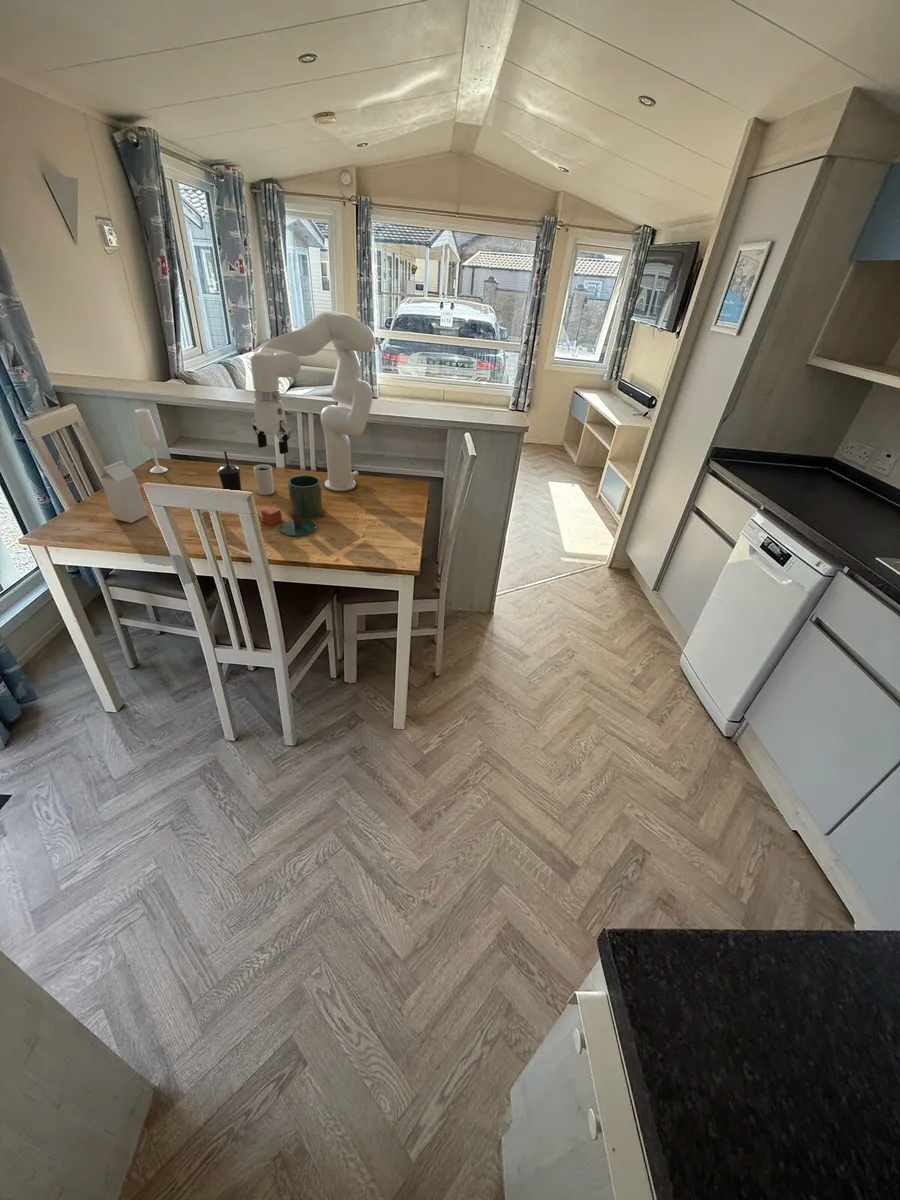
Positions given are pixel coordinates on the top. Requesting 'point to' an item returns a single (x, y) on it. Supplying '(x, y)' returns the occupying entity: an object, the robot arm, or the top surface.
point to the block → (271, 515)
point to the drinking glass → (264, 479)
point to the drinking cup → (229, 476)
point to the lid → (297, 526)
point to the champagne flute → (149, 435)
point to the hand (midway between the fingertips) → (273, 449)
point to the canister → (305, 496)
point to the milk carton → (123, 492)
